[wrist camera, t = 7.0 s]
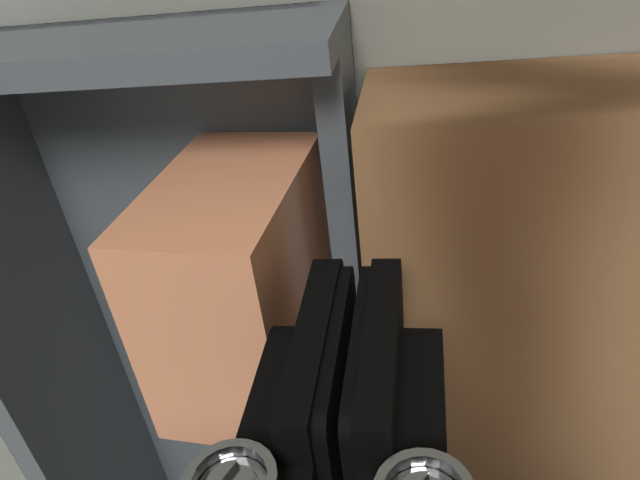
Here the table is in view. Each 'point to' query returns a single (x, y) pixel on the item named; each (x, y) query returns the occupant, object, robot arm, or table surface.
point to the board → (516, 251)
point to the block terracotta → (213, 272)
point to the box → (134, 197)
